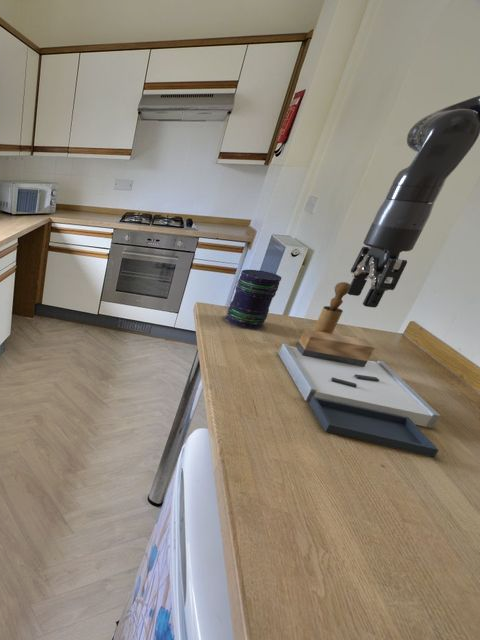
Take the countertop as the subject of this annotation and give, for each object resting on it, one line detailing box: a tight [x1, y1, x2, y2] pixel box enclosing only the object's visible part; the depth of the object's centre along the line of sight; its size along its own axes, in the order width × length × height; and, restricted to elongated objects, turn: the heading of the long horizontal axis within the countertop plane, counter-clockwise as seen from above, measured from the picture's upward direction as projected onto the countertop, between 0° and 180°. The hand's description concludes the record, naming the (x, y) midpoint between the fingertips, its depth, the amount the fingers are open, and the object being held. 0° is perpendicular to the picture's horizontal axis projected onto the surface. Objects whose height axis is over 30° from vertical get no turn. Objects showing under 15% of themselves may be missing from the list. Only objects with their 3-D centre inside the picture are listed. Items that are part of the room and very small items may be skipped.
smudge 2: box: [354, 374, 379, 382], centre depth 88 cm, size 4×1×1 cm, turn 76°
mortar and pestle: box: [312, 281, 351, 334], centre depth 104 cm, size 7×6×18 cm
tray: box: [308, 397, 439, 458], centre depth 76 cm, size 15×10×2 cm
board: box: [278, 343, 441, 429], centre depth 90 cm, size 20×24×3 cm
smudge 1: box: [331, 377, 357, 388], centre depth 86 cm, size 4×1×1 cm, turn 54°
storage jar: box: [224, 269, 282, 330], centre depth 119 cm, size 10×10×15 cm
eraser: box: [296, 328, 375, 367], centre depth 97 cm, size 12×5×5 cm, turn 66°
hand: (360, 300), depth 89 cm, fingers open, 8 cm apart
